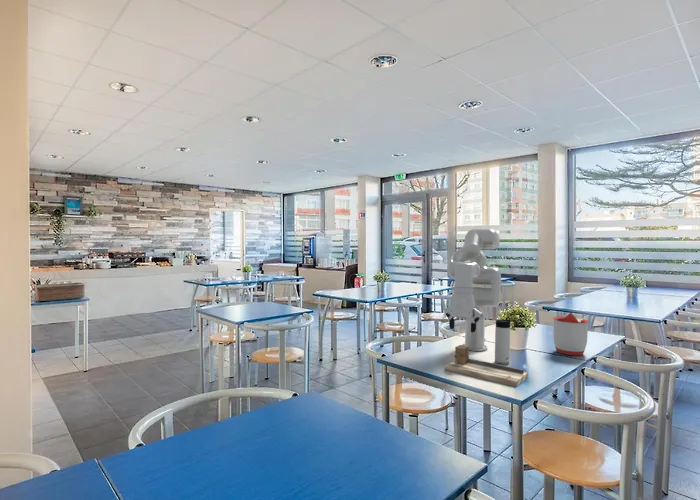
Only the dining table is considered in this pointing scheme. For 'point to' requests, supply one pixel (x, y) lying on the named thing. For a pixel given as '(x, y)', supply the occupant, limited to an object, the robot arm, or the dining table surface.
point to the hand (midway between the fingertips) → (462, 330)
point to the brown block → (461, 354)
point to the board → (489, 371)
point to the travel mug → (502, 341)
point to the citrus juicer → (570, 335)
